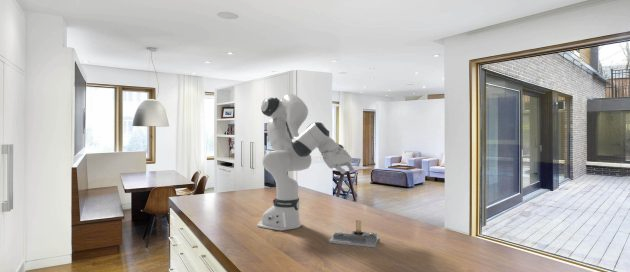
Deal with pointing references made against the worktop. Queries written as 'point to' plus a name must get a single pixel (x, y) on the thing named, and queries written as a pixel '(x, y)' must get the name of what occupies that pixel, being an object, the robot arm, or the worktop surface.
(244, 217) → the worktop surface
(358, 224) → the brass pin
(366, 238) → the chain jig
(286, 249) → the worktop surface
